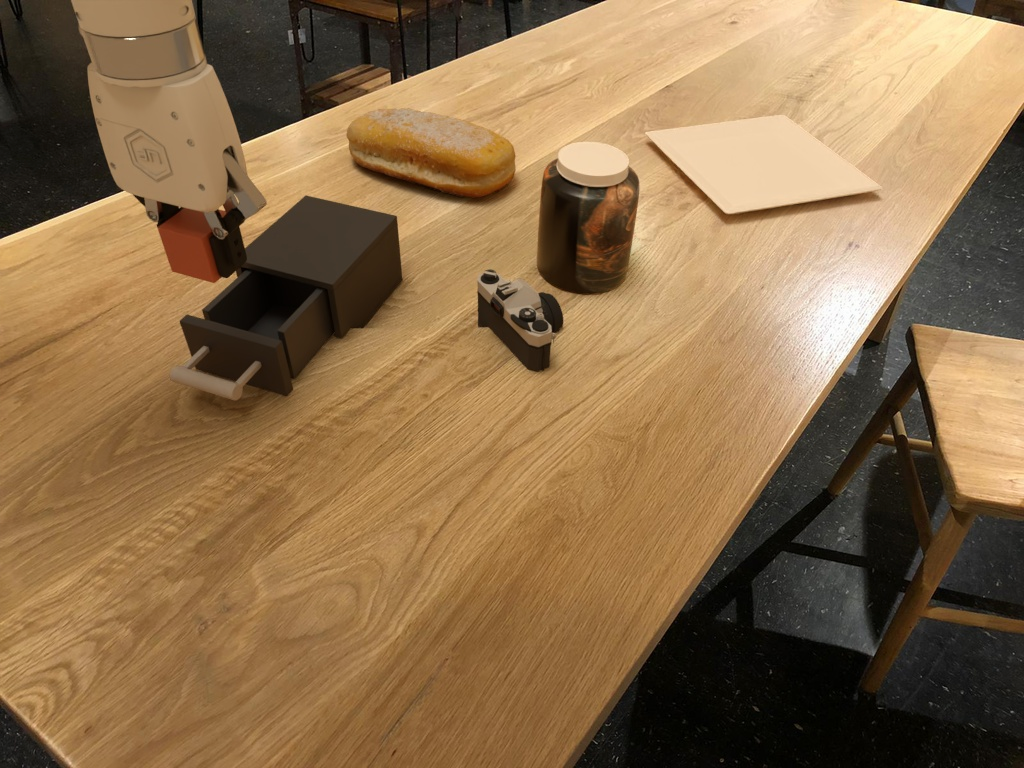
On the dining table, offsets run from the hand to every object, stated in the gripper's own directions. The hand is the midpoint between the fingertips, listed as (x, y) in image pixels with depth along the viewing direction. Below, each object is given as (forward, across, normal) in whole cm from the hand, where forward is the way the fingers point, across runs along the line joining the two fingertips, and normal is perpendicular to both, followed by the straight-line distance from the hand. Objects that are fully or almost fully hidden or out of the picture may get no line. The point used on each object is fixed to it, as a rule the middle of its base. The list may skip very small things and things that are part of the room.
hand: (208, 260), depth 66 cm
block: (0, 0, 0) cm, 0 cm away
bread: (+17, -4, +52) cm, 55 cm away
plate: (+17, +41, +73) cm, 85 cm away
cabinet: (+17, -1, +18) cm, 25 cm away
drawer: (+16, -1, +5) cm, 17 cm away
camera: (+17, +23, +20) cm, 35 cm away
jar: (+17, +24, +37) cm, 47 cm away
